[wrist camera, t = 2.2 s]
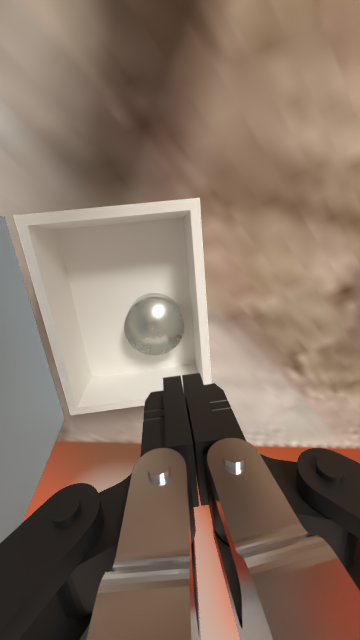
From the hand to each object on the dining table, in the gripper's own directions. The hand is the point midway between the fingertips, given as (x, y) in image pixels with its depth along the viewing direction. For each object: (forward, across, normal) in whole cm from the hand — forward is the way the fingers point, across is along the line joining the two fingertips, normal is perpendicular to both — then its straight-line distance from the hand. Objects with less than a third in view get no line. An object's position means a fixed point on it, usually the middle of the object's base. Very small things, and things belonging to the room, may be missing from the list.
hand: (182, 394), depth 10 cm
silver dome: (+18, +2, +2) cm, 18 cm away
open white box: (+18, +4, 0) cm, 18 cm away
